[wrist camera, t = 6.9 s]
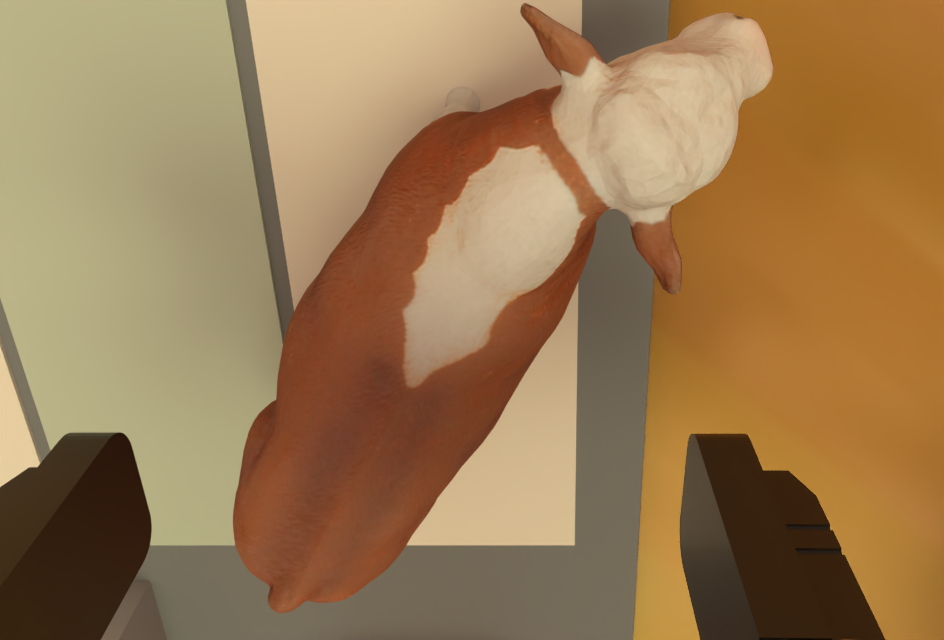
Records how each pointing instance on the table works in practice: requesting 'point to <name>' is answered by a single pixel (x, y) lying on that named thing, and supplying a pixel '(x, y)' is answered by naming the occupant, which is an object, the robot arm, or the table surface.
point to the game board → (296, 297)
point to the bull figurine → (470, 290)
